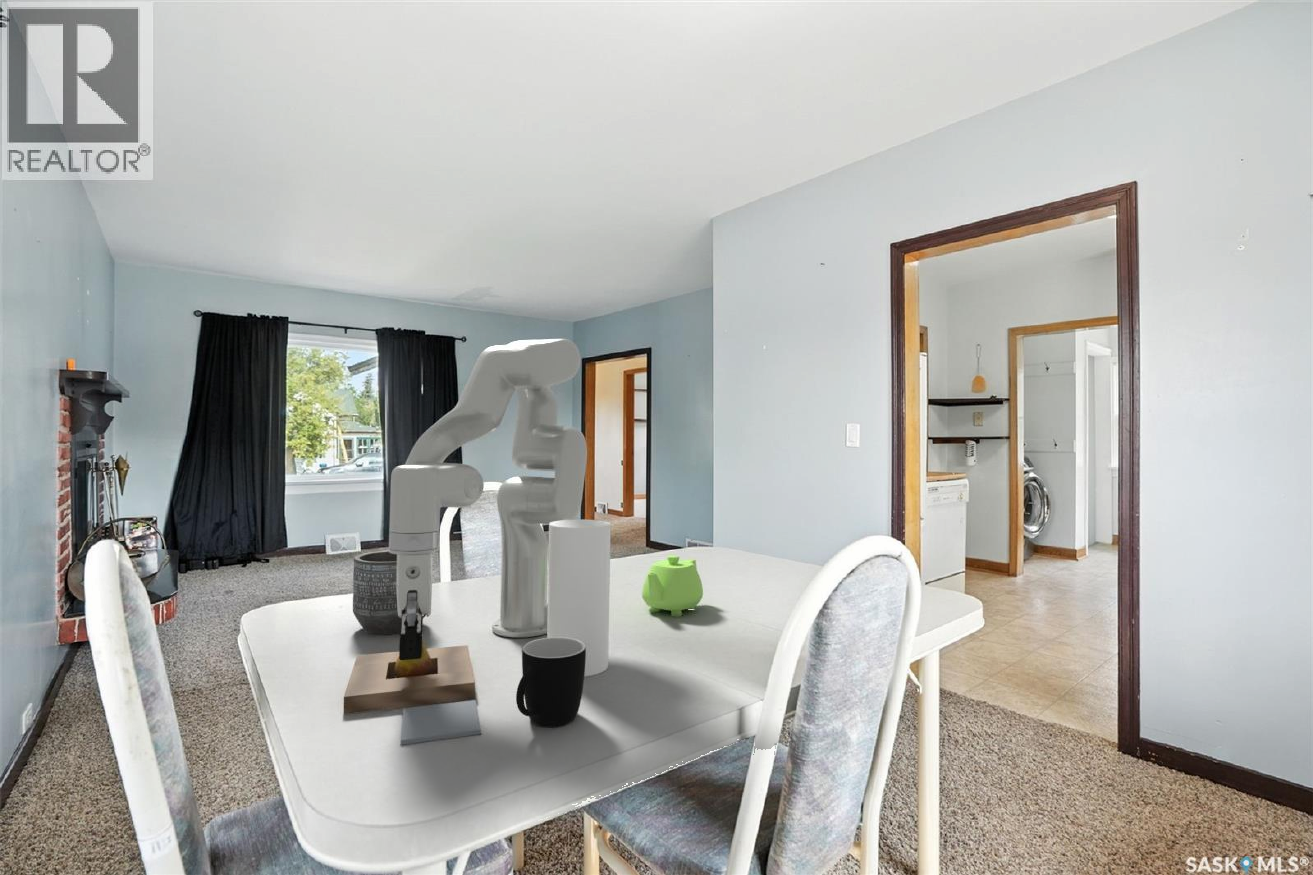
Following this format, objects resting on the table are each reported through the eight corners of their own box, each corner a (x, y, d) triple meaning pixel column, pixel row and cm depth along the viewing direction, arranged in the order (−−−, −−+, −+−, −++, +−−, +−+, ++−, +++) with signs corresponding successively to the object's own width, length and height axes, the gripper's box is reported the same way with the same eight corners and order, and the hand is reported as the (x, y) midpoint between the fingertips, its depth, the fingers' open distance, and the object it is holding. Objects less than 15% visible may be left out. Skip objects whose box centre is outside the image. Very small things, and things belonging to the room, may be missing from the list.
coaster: (475, 704, 95) (475, 700, 95) (480, 733, 85) (480, 729, 85) (403, 712, 91) (403, 708, 91) (400, 744, 82) (400, 740, 82)
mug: (547, 699, 97) (549, 633, 97) (596, 713, 92) (598, 643, 92) (492, 731, 86) (493, 656, 86) (544, 747, 82) (545, 669, 82)
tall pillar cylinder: (617, 659, 114) (619, 521, 114) (592, 681, 104) (595, 529, 104) (564, 652, 118) (566, 517, 118) (535, 672, 108) (537, 525, 108)
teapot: (673, 625, 136) (674, 566, 136) (623, 615, 143) (624, 559, 143) (717, 605, 153) (718, 553, 153) (670, 597, 160) (671, 547, 160)
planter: (336, 632, 127) (337, 558, 127) (390, 614, 140) (391, 547, 140) (390, 642, 122) (391, 564, 122) (441, 622, 135) (442, 552, 135)
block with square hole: (467, 659, 113) (467, 645, 113) (474, 698, 96) (474, 682, 96) (356, 670, 107) (357, 655, 107) (343, 714, 90) (343, 696, 90)
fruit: (421, 674, 106) (422, 602, 106) (437, 684, 102) (438, 609, 102) (387, 683, 102) (389, 608, 102) (402, 694, 98) (404, 616, 98)
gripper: (440, 549, 95) (436, 664, 95) (438, 534, 111) (435, 632, 111) (385, 551, 92) (382, 669, 92) (391, 535, 109) (388, 635, 108)
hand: (411, 649), depth 101 cm, fingers open, 9 cm apart
